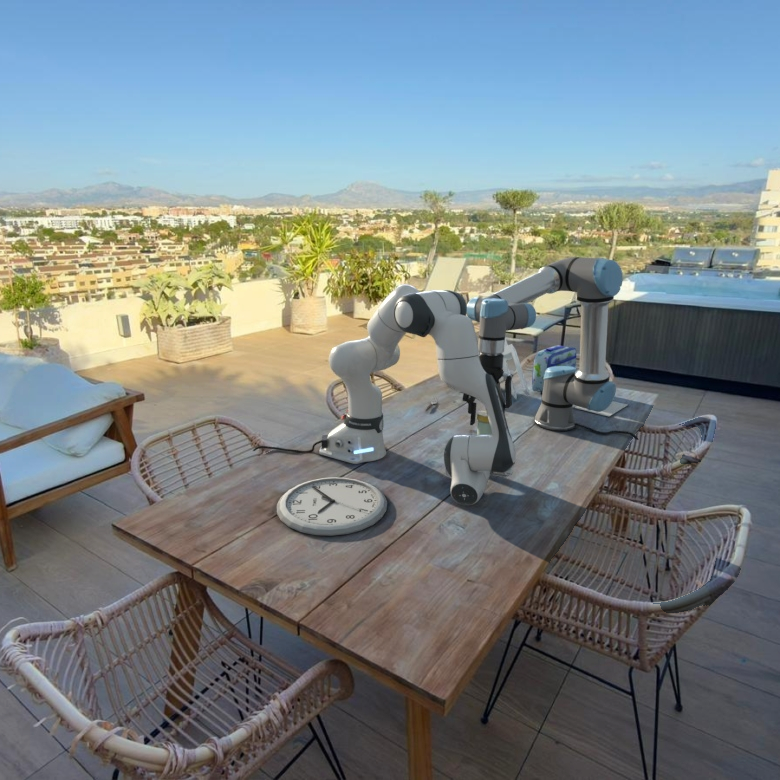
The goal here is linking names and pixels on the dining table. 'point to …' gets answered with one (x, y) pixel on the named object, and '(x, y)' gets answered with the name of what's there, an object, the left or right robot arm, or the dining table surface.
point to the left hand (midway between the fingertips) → (483, 451)
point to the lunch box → (551, 363)
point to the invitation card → (607, 409)
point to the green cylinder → (483, 428)
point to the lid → (482, 416)
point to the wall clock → (331, 506)
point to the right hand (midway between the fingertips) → (485, 425)
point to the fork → (432, 403)
